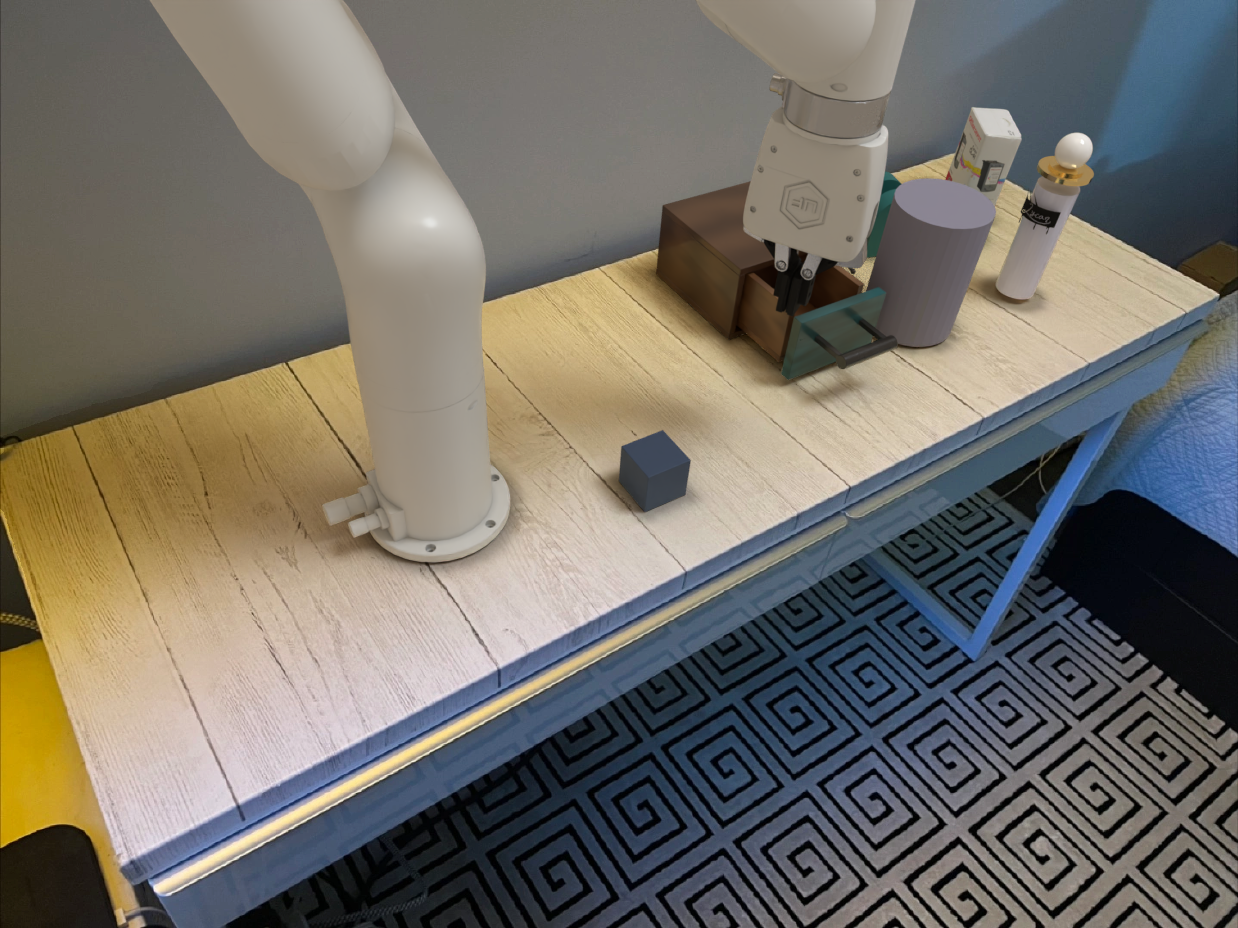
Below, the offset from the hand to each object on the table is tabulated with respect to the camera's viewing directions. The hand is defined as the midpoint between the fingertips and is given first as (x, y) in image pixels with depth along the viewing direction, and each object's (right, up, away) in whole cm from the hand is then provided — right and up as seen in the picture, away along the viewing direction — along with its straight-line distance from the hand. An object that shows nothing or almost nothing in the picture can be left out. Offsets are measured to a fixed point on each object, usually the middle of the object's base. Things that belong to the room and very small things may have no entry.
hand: (789, 305), depth 82 cm
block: (-12, -16, +2) cm, 21 cm away
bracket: (+23, +15, +37) cm, 46 cm away
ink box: (+32, +21, +43) cm, 58 cm away
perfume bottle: (+32, +6, +28) cm, 43 cm away
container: (+17, +2, +23) cm, 29 cm away
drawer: (+5, -1, +18) cm, 18 cm away
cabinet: (-2, +6, +25) cm, 26 cm away
